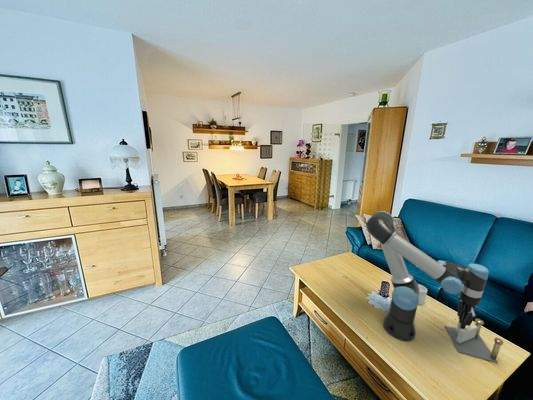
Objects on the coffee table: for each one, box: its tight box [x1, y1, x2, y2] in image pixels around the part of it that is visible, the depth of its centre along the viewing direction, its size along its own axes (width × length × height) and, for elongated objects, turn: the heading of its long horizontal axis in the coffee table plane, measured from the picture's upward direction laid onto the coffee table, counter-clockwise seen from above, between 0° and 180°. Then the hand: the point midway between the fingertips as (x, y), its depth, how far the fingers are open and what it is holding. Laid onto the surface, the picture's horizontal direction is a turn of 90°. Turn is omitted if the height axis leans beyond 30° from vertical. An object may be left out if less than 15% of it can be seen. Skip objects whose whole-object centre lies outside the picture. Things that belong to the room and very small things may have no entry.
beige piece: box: [456, 324, 478, 343], centre depth 113 cm, size 12×2×7 cm, turn 109°
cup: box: [417, 283, 428, 306], centre depth 142 cm, size 8×12×10 cm
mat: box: [444, 325, 499, 364], centre depth 113 cm, size 15×17×1 cm
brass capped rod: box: [490, 337, 504, 360], centre depth 103 cm, size 3×3×11 cm
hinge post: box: [474, 317, 485, 339], centre depth 115 cm, size 3×3×11 cm
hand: (459, 331), depth 116 cm, fingers closed
